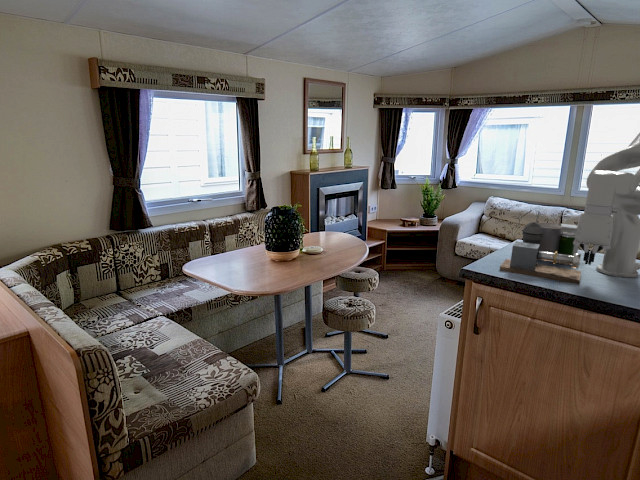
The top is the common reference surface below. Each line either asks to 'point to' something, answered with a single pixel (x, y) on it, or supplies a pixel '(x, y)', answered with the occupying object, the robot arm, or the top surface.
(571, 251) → the beer can
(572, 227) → the supplement box
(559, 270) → the machine model
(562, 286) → the top surface
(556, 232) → the pillar candle
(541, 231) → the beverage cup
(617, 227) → the robot arm
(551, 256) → the shaft
